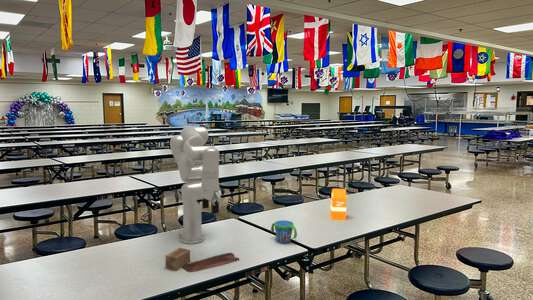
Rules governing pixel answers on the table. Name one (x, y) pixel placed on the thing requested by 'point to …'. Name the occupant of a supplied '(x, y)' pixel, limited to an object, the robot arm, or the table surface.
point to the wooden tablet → (210, 262)
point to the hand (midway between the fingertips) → (210, 210)
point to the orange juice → (338, 204)
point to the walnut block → (177, 259)
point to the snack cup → (283, 230)
